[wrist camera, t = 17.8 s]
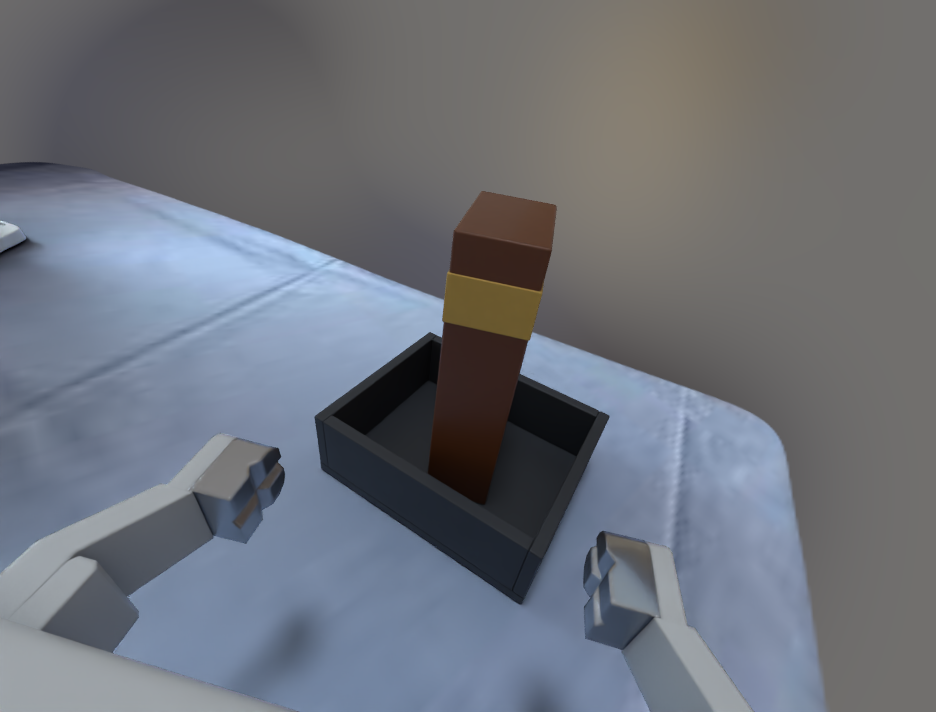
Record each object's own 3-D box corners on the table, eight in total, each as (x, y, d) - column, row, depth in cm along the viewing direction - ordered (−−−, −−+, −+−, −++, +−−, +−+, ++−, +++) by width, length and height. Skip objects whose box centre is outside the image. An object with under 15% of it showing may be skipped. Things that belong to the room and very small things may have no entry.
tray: (321, 469, 23) (313, 416, 20) (425, 378, 30) (429, 331, 27) (520, 605, 18) (542, 559, 16) (587, 462, 25) (610, 415, 23)
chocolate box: (424, 490, 22) (451, 229, 13) (447, 422, 26) (480, 189, 17) (485, 506, 21) (553, 250, 13) (499, 435, 25) (558, 204, 17)
